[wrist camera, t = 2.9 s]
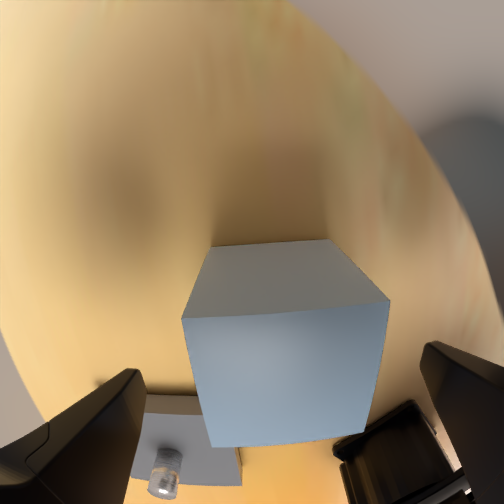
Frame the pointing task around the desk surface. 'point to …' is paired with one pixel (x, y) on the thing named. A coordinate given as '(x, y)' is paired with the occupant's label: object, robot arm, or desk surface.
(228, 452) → the base plate
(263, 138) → the desk surface
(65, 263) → the desk surface
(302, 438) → the pale blue cube
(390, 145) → the desk surface
